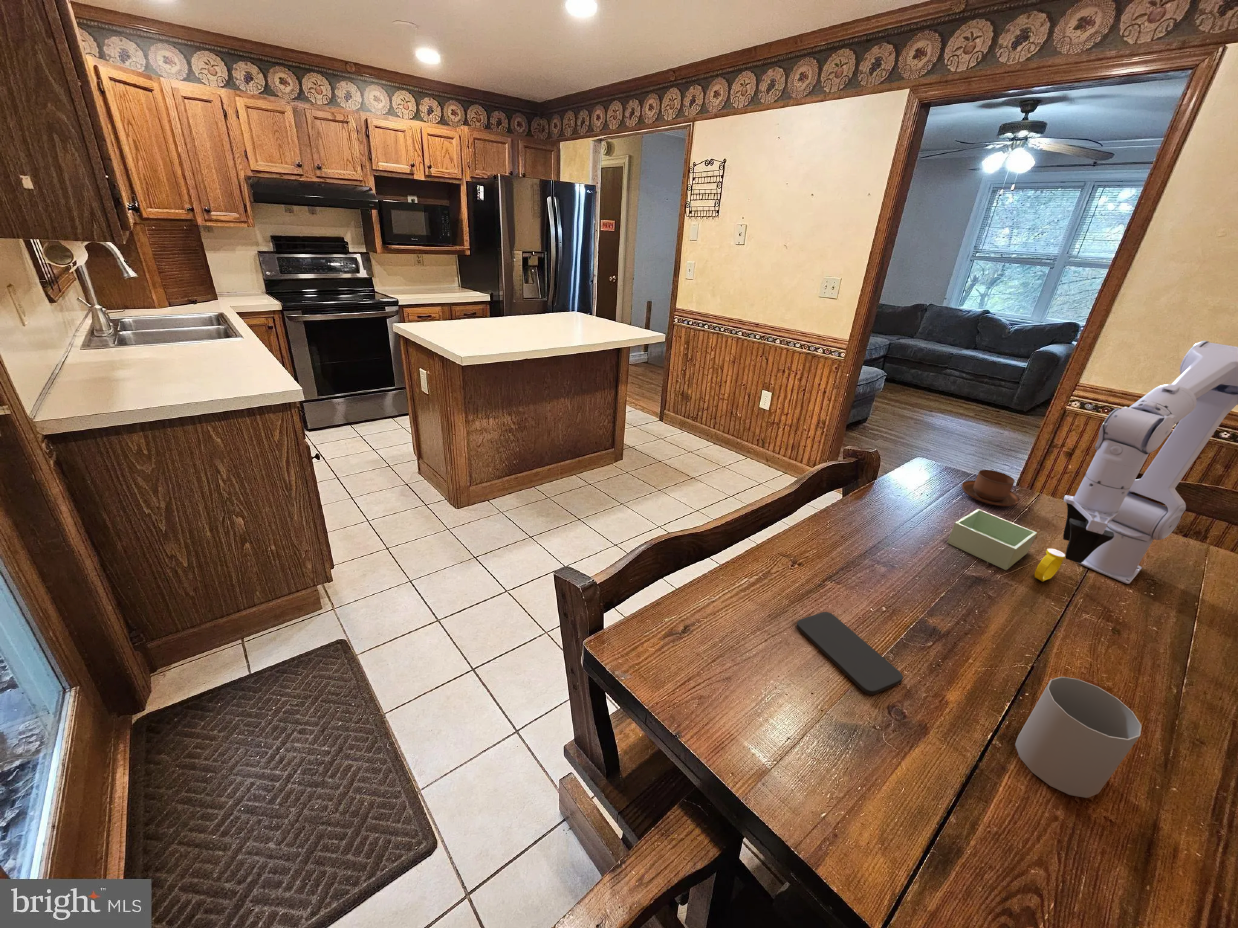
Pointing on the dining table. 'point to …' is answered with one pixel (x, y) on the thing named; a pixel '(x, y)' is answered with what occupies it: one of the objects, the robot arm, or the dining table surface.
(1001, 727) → the dining table surface
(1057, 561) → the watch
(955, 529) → the bin
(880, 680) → the phone
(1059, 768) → the cup
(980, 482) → the cup and saucer
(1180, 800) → the dining table surface
